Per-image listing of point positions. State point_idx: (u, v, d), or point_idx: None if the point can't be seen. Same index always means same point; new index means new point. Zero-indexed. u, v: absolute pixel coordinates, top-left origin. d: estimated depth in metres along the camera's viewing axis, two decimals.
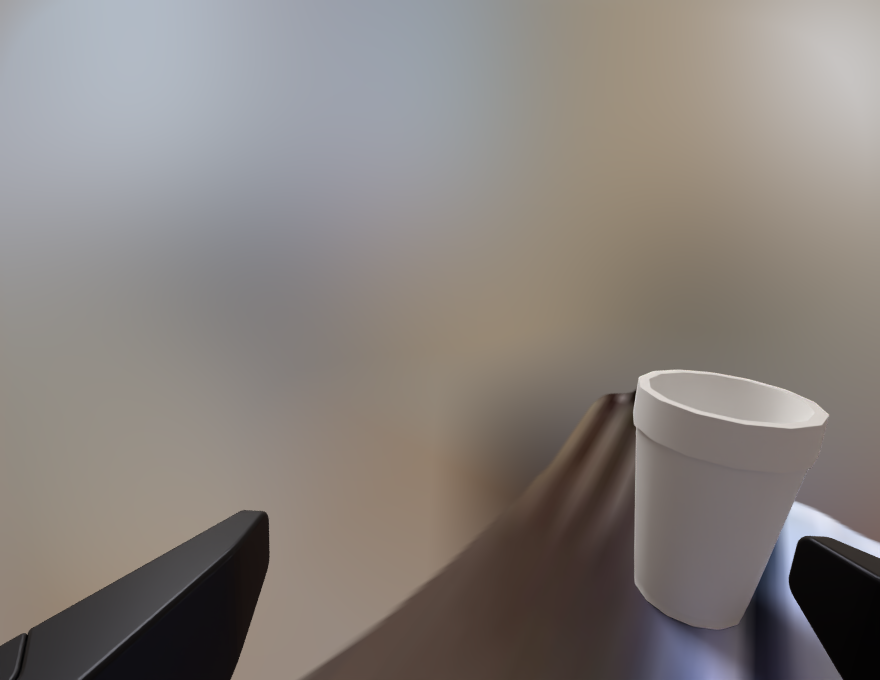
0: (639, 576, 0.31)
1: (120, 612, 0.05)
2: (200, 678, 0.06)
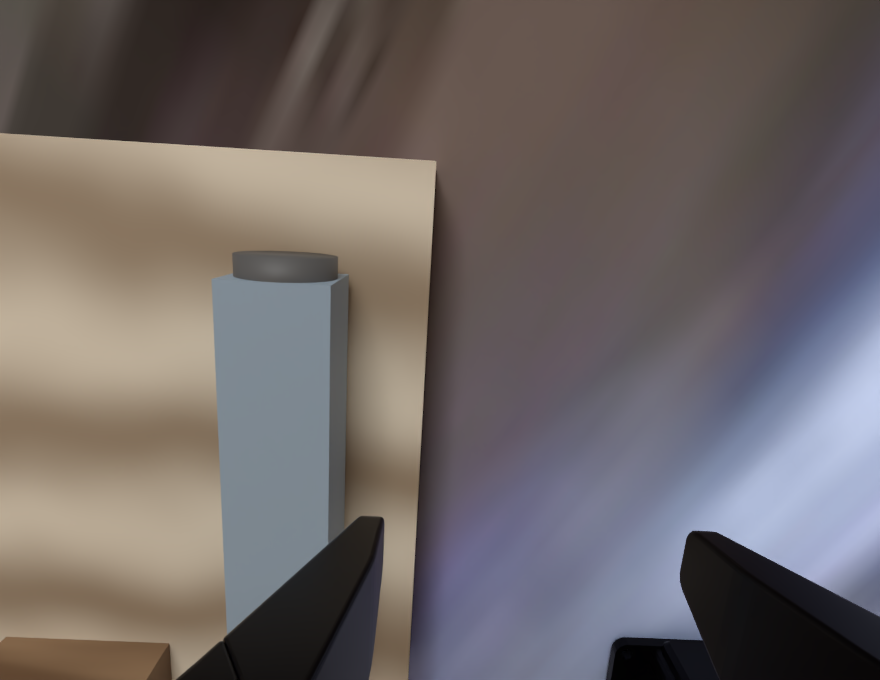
0: None
1: (302, 620, 0.05)
2: None
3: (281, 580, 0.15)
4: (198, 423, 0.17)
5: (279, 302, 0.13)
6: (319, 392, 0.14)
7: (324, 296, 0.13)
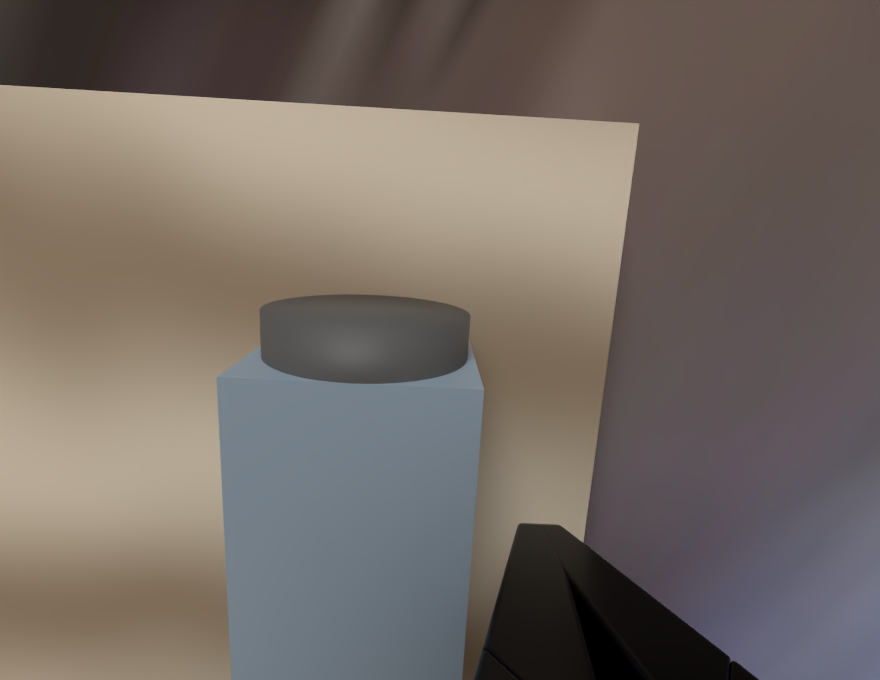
0: None
1: (546, 629, 0.05)
2: None
3: None
4: (193, 586, 0.10)
5: (368, 426, 0.06)
6: (446, 606, 0.06)
7: (468, 412, 0.06)
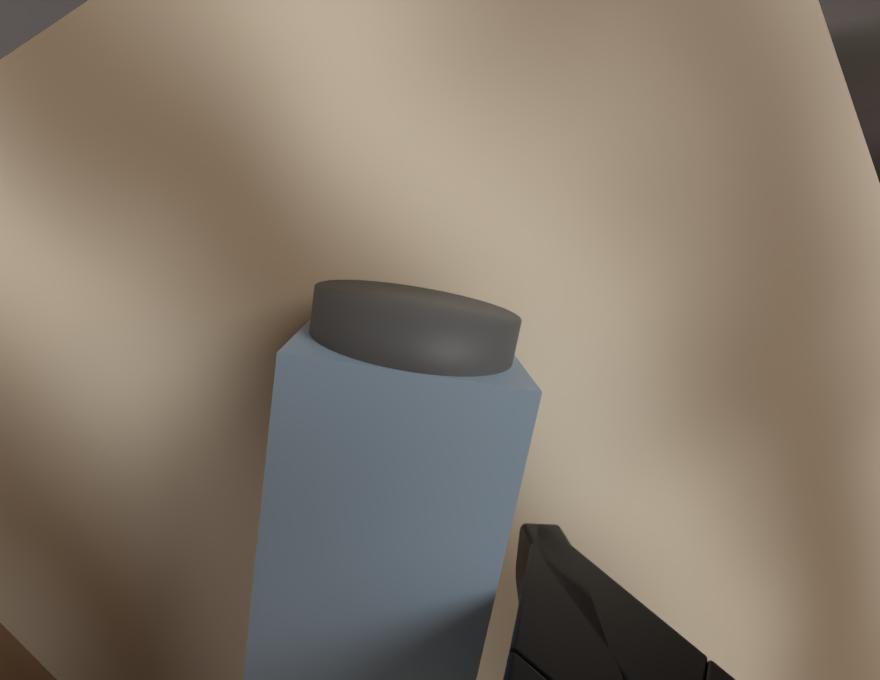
0: None
1: (572, 630, 0.05)
2: None
3: None
4: None
5: (423, 416, 0.06)
6: (473, 602, 0.06)
7: (524, 413, 0.06)
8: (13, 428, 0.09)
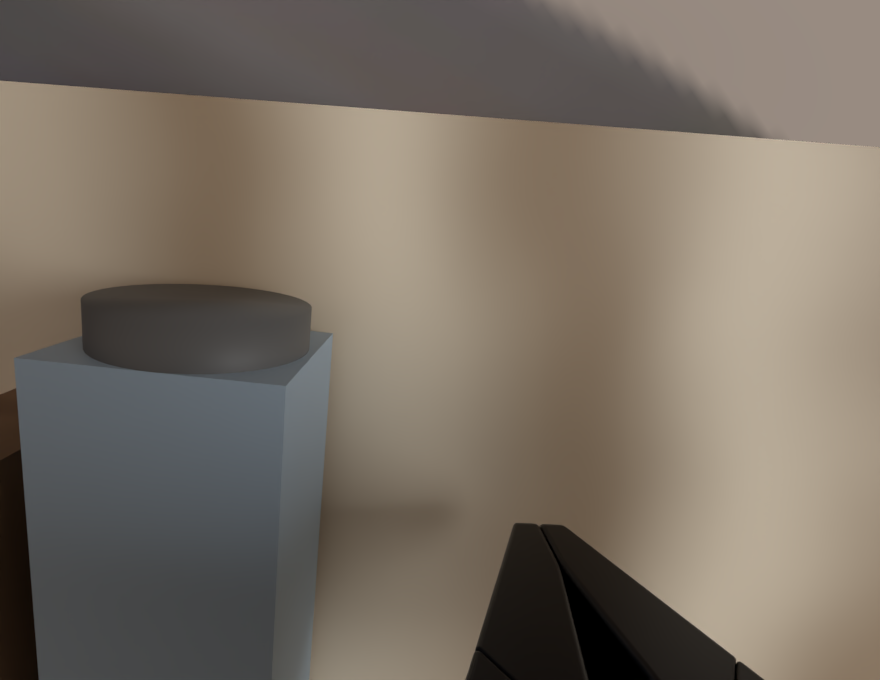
0: None
1: (539, 629, 0.05)
2: None
3: None
4: None
5: (169, 416, 0.06)
6: (253, 601, 0.06)
7: (271, 408, 0.06)
8: None
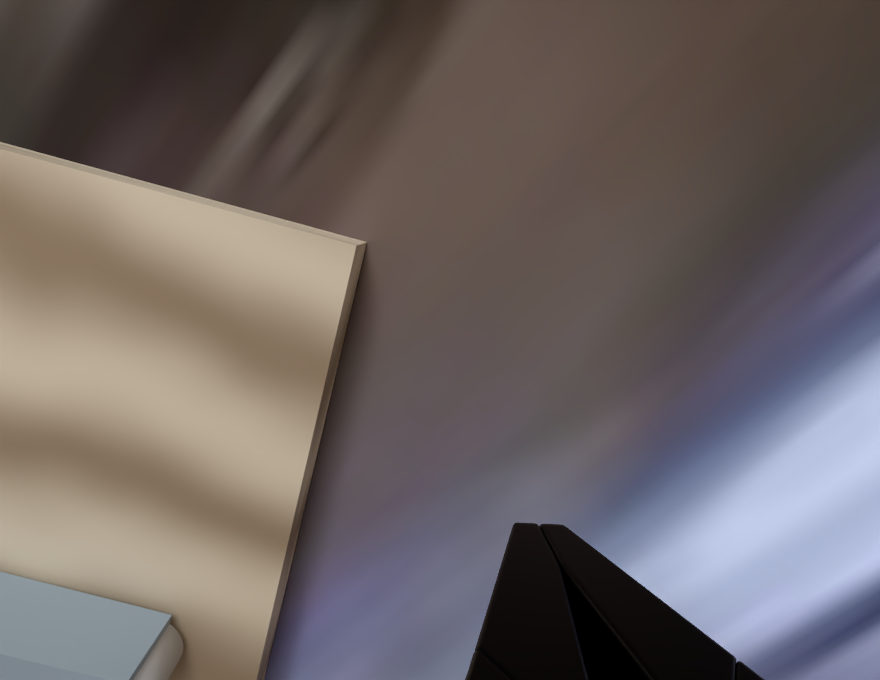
0: None
1: (540, 629, 0.05)
2: None
3: None
4: (80, 443, 0.17)
5: None
6: None
7: None
8: None
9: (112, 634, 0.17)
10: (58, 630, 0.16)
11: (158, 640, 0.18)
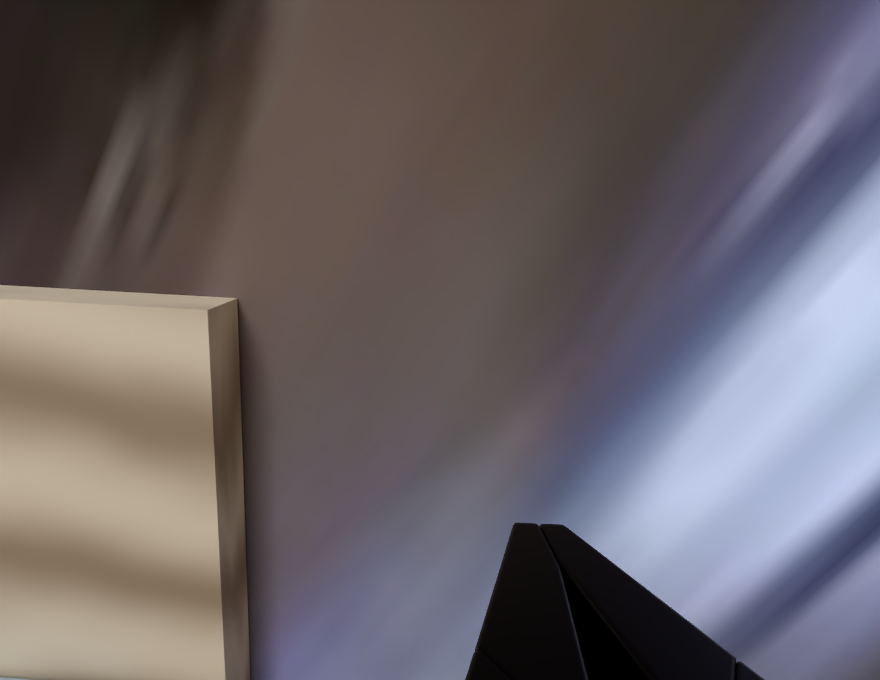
0: None
1: (540, 629, 0.05)
2: None
3: None
4: (6, 544, 0.18)
5: None
6: None
7: None
8: None
9: None
10: None
11: None
